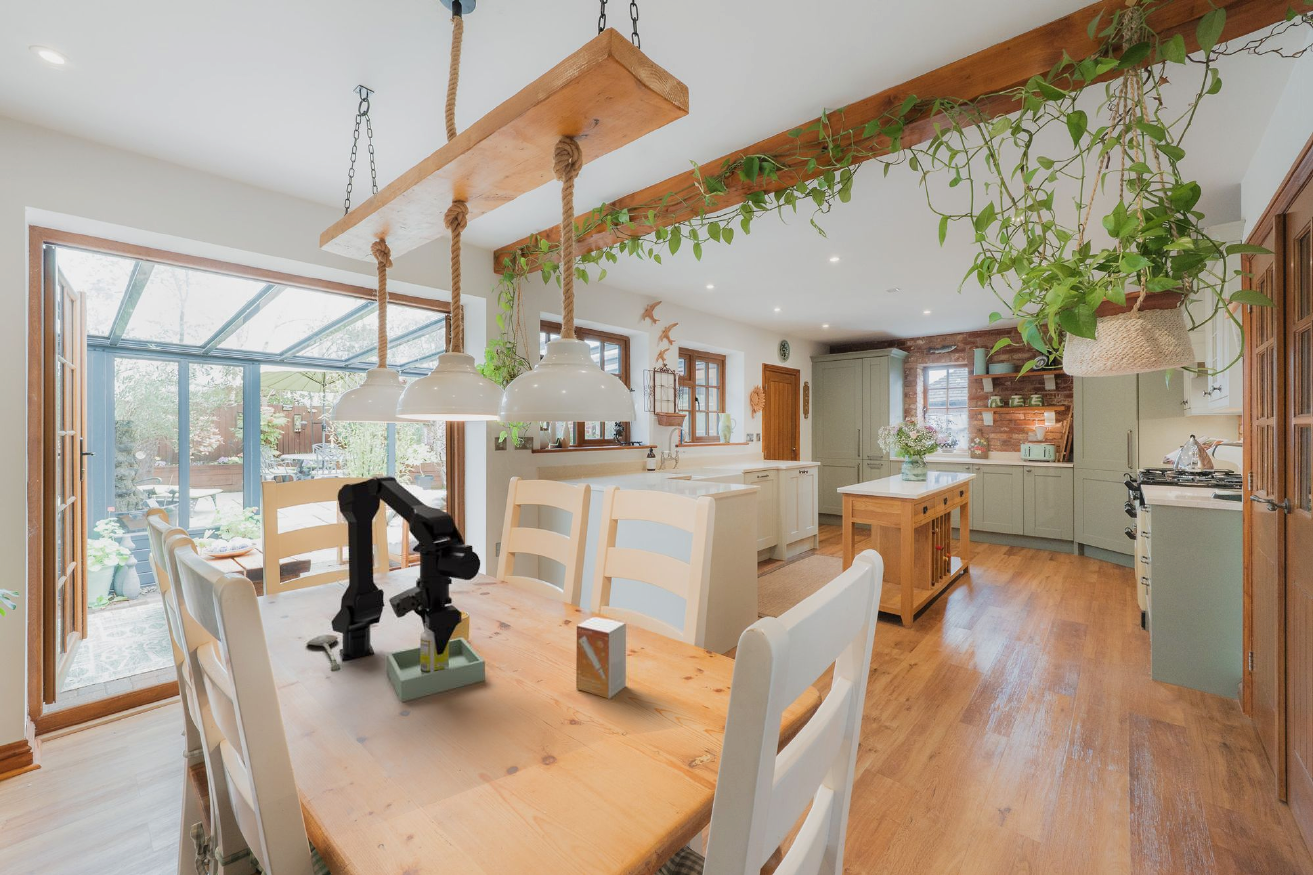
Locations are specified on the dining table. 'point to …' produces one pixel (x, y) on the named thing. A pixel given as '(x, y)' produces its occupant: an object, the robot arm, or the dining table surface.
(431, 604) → the robot arm
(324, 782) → the dining table surface
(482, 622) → the dining table surface
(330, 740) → the dining table surface
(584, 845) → the dining table surface
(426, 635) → the supplement bottle
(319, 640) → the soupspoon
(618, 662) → the small box
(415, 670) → the open box
